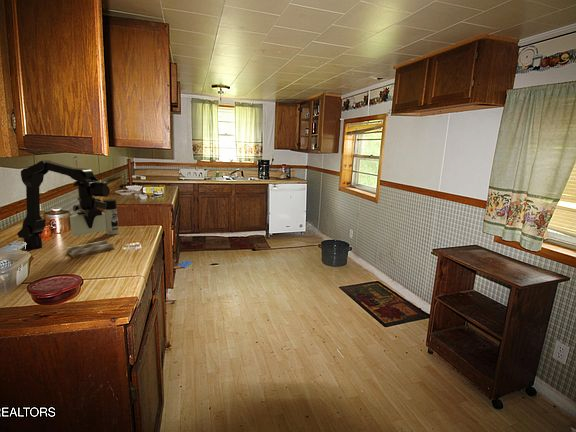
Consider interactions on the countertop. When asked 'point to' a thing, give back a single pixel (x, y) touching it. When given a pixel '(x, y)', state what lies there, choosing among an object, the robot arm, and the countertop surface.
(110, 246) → the bottom track
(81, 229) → the pale green rectangular block
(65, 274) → the countertop surface
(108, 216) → the spray can
